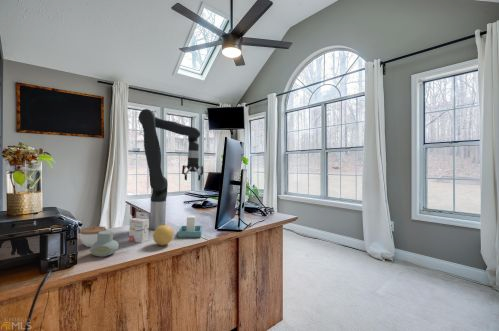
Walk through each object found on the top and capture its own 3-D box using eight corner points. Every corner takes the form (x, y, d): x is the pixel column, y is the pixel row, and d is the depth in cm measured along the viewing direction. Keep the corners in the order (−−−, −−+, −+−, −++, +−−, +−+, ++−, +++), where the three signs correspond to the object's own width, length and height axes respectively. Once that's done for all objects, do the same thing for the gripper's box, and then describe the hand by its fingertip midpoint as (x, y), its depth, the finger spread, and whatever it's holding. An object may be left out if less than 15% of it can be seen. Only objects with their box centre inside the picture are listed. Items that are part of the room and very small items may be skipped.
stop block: (186, 234, 135) (186, 217, 135) (186, 232, 139) (187, 215, 139) (194, 234, 136) (194, 217, 136) (194, 232, 140) (195, 215, 140)
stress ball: (169, 249, 115) (180, 233, 121) (156, 237, 110) (169, 220, 117) (157, 248, 120) (169, 232, 127) (145, 236, 116) (158, 220, 123)
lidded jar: (83, 242, 118) (84, 223, 118) (107, 240, 122) (108, 222, 122) (76, 249, 108) (76, 229, 108) (102, 247, 112) (103, 228, 112)
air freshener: (86, 258, 99) (87, 235, 99) (94, 251, 107) (95, 229, 107) (114, 257, 101) (115, 234, 101) (120, 250, 110) (121, 229, 109)
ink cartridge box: (128, 241, 122) (129, 213, 122) (135, 238, 127) (136, 211, 127) (141, 243, 120) (142, 214, 120) (148, 240, 125) (149, 213, 125)
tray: (177, 237, 130) (178, 231, 130) (180, 231, 143) (181, 225, 143) (200, 237, 132) (201, 231, 132) (201, 231, 145) (202, 225, 145)
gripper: (182, 156, 157) (181, 180, 157) (203, 157, 159) (202, 181, 159) (183, 157, 164) (182, 179, 164) (203, 157, 166) (203, 180, 167)
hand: (192, 180), depth 162 cm, fingers open, 8 cm apart
